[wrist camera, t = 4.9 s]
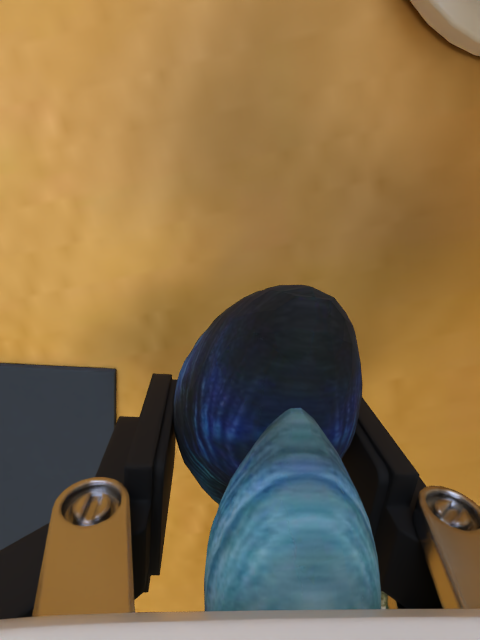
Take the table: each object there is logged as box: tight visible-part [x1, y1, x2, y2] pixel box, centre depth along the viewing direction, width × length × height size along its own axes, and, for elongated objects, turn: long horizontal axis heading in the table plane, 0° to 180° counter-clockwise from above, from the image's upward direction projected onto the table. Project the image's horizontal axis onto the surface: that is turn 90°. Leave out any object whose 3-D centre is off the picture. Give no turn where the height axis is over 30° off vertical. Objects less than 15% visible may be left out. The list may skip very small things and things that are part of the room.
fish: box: [173, 285, 381, 611], centre depth 8 cm, size 4×10×10 cm, turn 174°
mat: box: [0, 363, 116, 550], centre depth 20 cm, size 22×12×1 cm, turn 175°
